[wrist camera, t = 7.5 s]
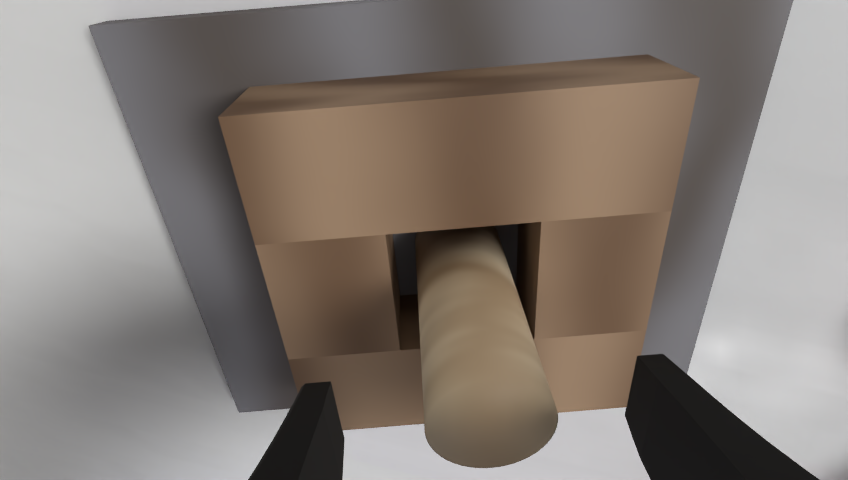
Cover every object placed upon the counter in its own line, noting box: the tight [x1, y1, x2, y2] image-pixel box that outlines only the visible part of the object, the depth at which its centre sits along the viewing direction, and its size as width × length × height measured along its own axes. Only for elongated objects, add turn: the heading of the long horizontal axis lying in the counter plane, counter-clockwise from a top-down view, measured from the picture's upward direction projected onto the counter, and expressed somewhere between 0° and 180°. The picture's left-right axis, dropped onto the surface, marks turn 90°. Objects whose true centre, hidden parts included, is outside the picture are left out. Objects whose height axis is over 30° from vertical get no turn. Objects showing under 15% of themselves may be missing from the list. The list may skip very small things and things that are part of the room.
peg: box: [415, 226, 558, 468], centre depth 15 cm, size 3×3×8 cm
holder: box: [89, 0, 793, 430], centre depth 17 cm, size 20×16×4 cm
